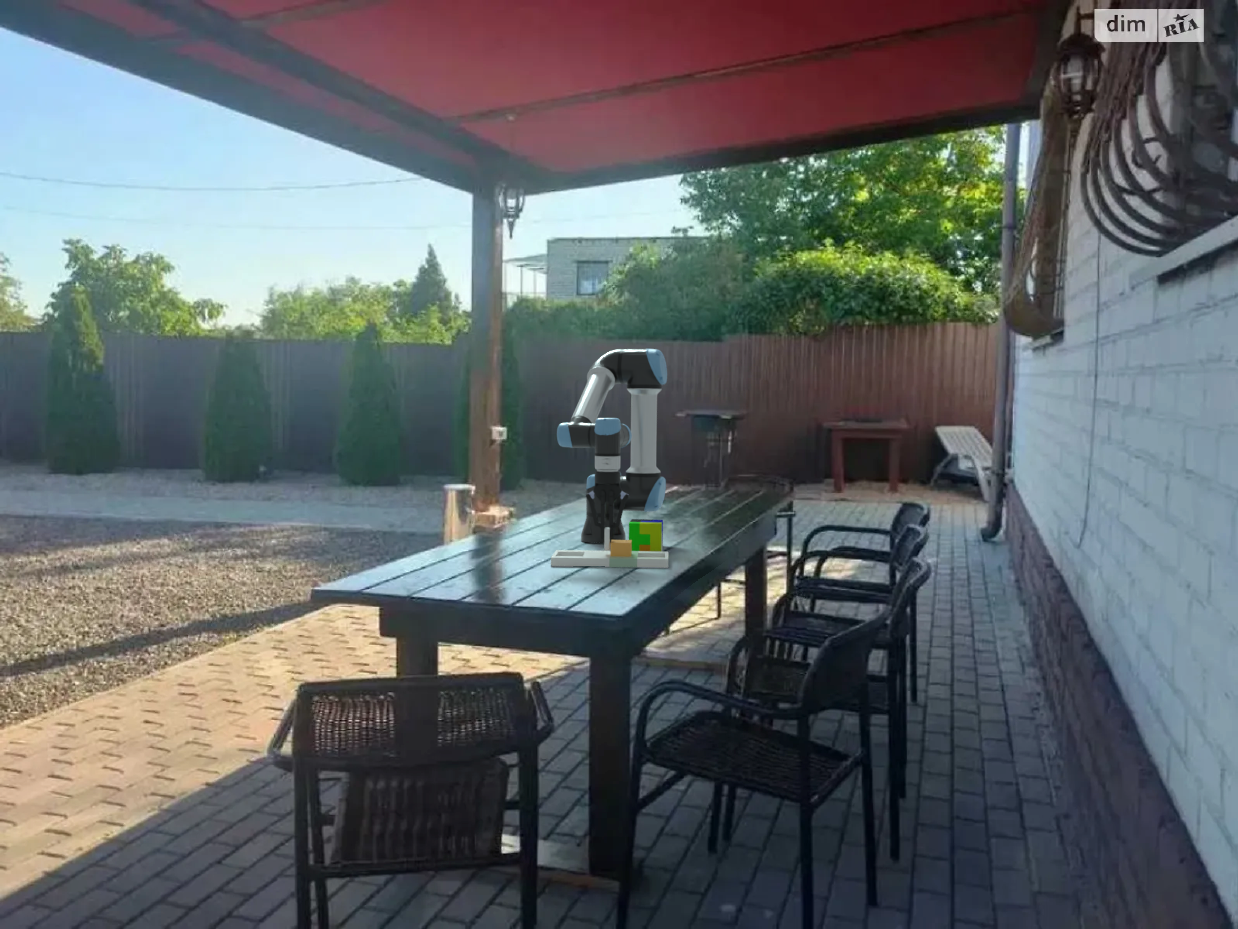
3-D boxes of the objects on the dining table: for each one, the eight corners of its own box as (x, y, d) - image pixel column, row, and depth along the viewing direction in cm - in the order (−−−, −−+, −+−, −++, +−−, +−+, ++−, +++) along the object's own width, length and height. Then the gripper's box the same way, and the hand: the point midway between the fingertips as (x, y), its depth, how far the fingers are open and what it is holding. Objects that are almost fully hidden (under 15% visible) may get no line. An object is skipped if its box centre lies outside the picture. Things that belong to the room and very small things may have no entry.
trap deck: (556, 558, 306) (556, 550, 306) (668, 559, 304) (668, 551, 304) (550, 566, 292) (550, 557, 292) (668, 567, 291) (668, 559, 290)
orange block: (611, 553, 301) (611, 539, 301) (631, 553, 301) (631, 540, 300) (610, 556, 295) (610, 542, 295) (630, 556, 295) (631, 543, 294)
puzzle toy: (662, 550, 322) (662, 519, 321) (660, 555, 312) (661, 523, 312) (631, 550, 323) (631, 519, 322) (628, 555, 313) (628, 523, 313)
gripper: (584, 471, 293) (584, 551, 295) (629, 471, 292) (628, 552, 294) (586, 469, 300) (586, 547, 302) (630, 469, 300) (629, 548, 302)
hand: (607, 549), depth 298 cm, fingers closed
